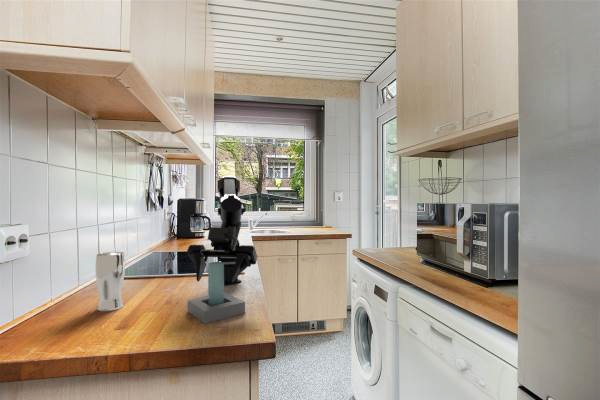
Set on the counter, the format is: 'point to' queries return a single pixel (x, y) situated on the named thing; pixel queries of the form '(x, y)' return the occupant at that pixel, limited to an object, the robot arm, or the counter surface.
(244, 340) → the counter surface
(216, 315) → the socket block
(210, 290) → the peg
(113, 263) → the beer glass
